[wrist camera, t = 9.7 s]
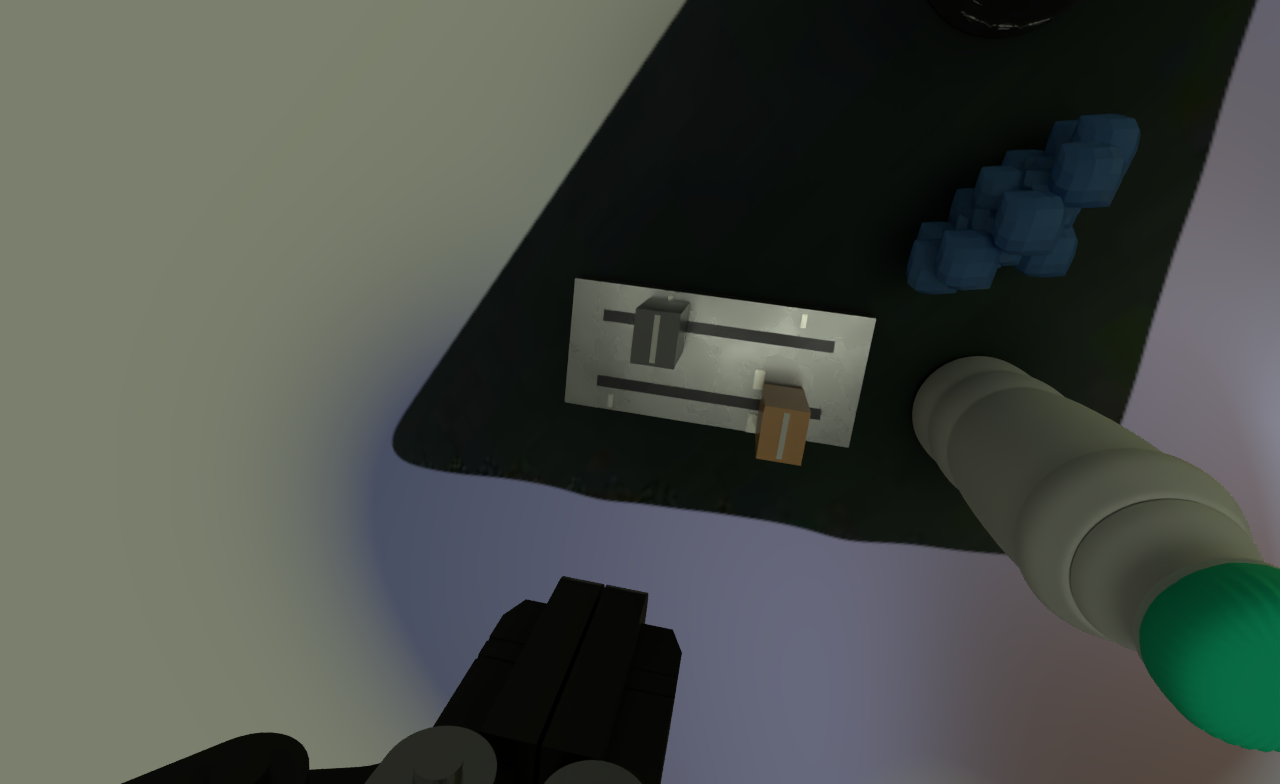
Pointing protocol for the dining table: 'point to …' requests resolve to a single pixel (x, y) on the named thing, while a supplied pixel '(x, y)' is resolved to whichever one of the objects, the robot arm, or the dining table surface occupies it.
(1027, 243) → the grapes
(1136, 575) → the water bottle
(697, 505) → the dining table surface
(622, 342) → the console
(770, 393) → the fader
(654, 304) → the fader
